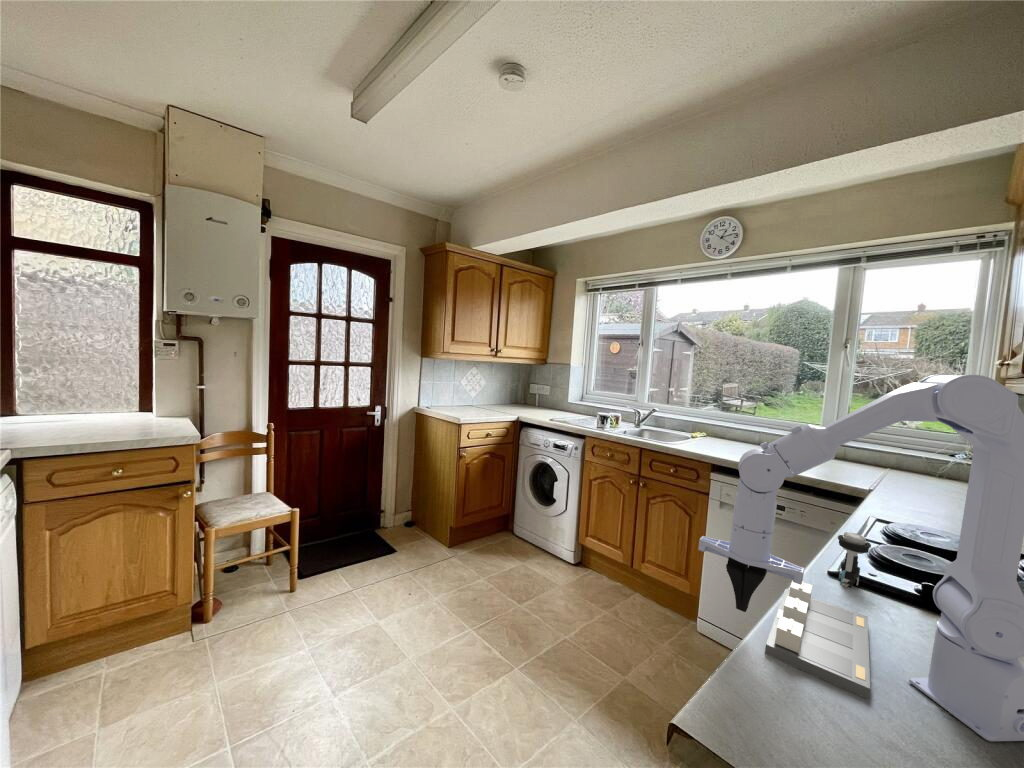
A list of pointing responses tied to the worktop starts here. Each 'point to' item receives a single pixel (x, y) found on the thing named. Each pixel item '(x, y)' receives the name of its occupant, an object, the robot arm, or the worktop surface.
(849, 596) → the worktop surface
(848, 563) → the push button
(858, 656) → the switch plate
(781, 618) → the near tab
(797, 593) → the far tab
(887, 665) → the worktop surface
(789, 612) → the middle tab
